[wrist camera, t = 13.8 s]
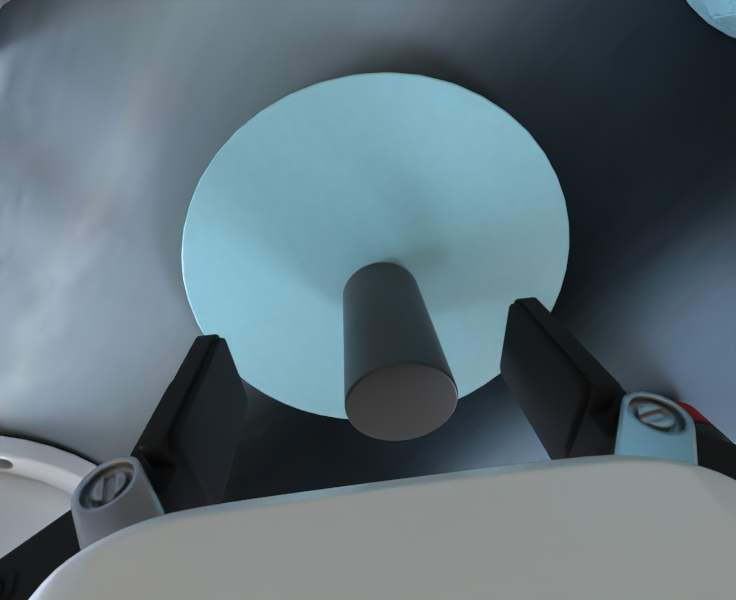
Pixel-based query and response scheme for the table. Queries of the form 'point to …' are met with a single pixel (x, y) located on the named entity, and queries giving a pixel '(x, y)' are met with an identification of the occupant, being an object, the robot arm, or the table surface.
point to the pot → (717, 14)
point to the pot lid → (373, 247)
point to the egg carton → (3, 2)
